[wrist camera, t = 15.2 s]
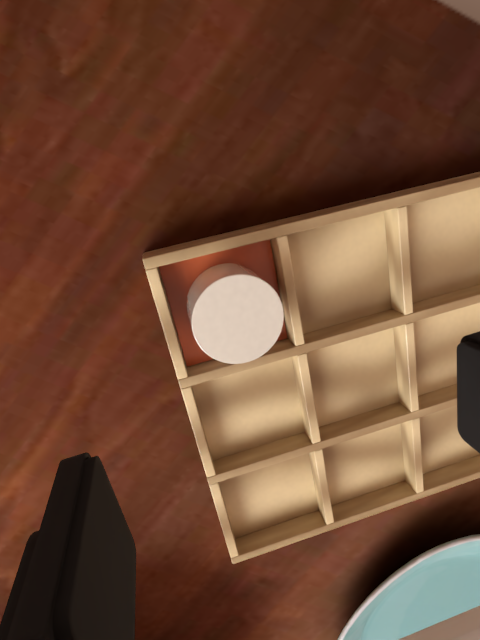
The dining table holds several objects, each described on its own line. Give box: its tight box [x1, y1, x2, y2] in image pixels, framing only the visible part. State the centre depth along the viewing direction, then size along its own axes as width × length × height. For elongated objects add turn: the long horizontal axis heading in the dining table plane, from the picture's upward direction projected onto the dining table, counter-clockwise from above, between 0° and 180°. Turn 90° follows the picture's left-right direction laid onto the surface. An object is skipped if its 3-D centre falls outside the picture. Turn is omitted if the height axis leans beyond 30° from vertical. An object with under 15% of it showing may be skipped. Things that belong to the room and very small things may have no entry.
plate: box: [337, 534, 480, 640], centre depth 36 cm, size 22×22×3 cm
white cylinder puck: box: [186, 263, 284, 364], centre depth 22 cm, size 5×5×3 cm
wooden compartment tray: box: [143, 172, 480, 564], centre depth 26 cm, size 22×22×2 cm
